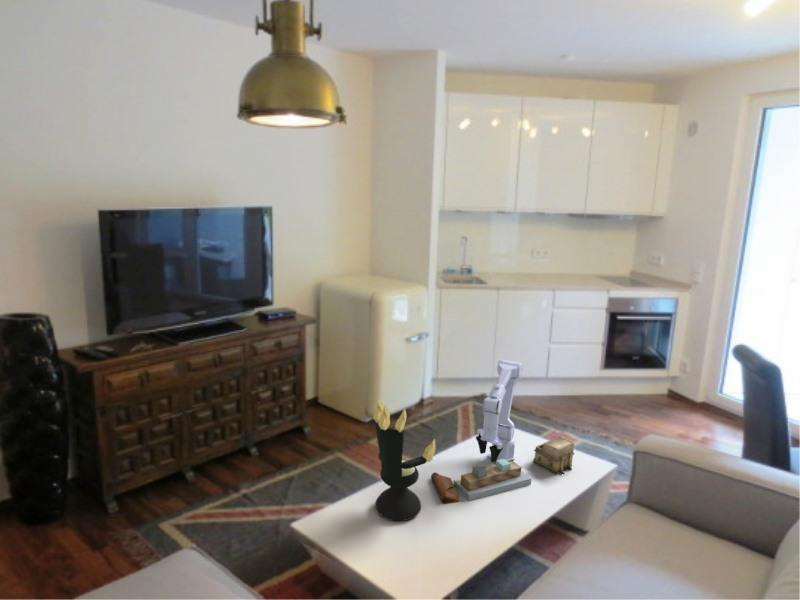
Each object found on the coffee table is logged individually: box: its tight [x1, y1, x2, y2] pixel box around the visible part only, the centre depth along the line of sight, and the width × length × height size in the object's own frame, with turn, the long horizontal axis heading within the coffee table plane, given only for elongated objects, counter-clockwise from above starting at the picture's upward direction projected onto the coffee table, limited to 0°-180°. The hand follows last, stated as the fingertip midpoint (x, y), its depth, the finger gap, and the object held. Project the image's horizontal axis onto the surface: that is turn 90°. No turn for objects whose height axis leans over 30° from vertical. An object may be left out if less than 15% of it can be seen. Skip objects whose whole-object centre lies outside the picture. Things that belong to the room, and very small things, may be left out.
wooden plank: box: [460, 460, 522, 491], centre depth 221 cm, size 26×6×4 cm, turn 119°
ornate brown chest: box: [533, 435, 575, 475], centre depth 240 cm, size 15×14×11 cm
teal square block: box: [495, 459, 511, 471], centre depth 223 cm, size 4×4×2 cm
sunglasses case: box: [430, 471, 463, 505], centre depth 217 cm, size 18×7×7 cm
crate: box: [471, 464, 487, 478], centre depth 218 cm, size 4×4×2 cm
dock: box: [453, 470, 532, 502], centre depth 222 cm, size 30×11×3 cm, turn 117°
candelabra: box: [373, 397, 436, 522], centre depth 197 cm, size 19×22×45 cm
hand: (488, 457), depth 226 cm, fingers open, 7 cm apart
